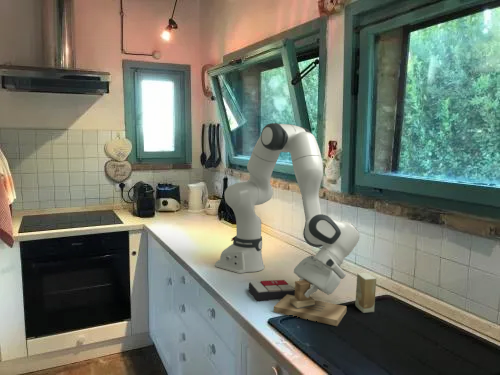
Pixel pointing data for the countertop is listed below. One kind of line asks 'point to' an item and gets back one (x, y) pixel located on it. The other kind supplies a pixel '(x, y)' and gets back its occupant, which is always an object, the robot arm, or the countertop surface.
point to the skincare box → (365, 292)
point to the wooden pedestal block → (301, 295)
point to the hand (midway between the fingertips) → (301, 293)
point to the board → (313, 311)
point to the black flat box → (270, 290)
